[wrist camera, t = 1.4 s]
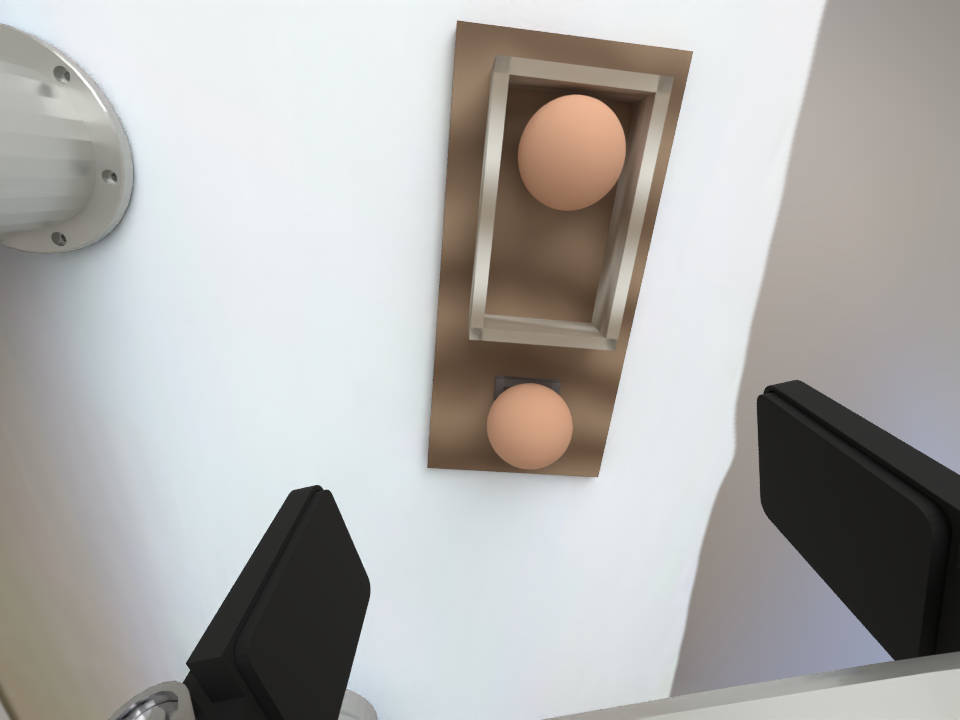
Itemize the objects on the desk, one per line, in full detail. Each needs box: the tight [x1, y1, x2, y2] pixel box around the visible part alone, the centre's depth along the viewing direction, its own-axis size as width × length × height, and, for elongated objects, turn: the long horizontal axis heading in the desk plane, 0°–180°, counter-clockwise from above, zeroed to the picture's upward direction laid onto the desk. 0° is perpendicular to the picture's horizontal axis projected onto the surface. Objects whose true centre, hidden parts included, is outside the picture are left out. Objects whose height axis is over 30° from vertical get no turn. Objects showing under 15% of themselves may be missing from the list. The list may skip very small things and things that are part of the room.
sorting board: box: [427, 21, 693, 477], centre depth 31 cm, size 30×14×4 cm, turn 175°
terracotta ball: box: [487, 383, 573, 469], centre depth 32 cm, size 6×6×6 cm
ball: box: [518, 95, 626, 211], centre depth 26 cm, size 6×6×6 cm
